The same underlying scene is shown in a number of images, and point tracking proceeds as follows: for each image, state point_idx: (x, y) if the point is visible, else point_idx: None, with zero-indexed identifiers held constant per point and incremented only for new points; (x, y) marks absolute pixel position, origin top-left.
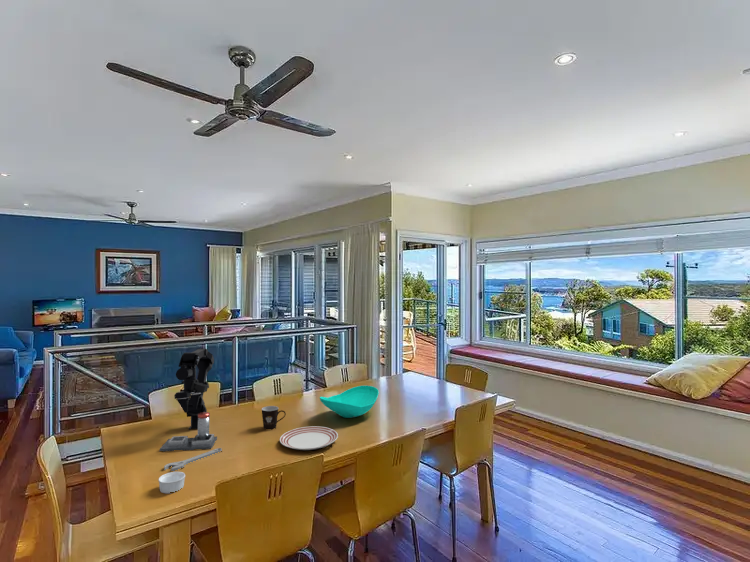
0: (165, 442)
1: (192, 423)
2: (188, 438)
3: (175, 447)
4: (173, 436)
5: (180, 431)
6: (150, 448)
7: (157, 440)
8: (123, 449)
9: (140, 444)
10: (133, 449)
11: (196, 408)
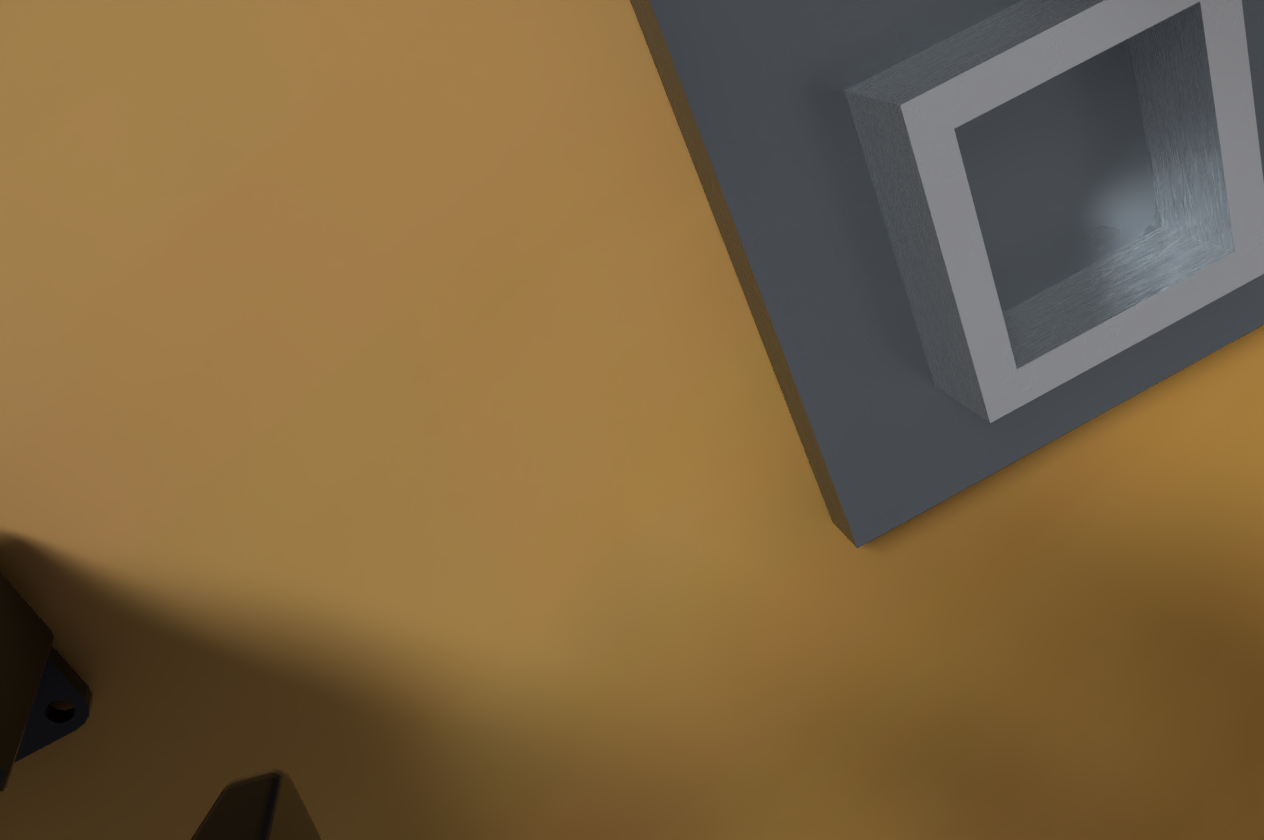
0: (1036, 448)
1: (21, 717)
2: (749, 148)
3: (1253, 38)
4: (989, 412)
5: (277, 758)
6: (1151, 538)
7: (829, 729)
8: (1198, 828)
9: (1019, 802)
10: (1194, 722)
11: (261, 779)
